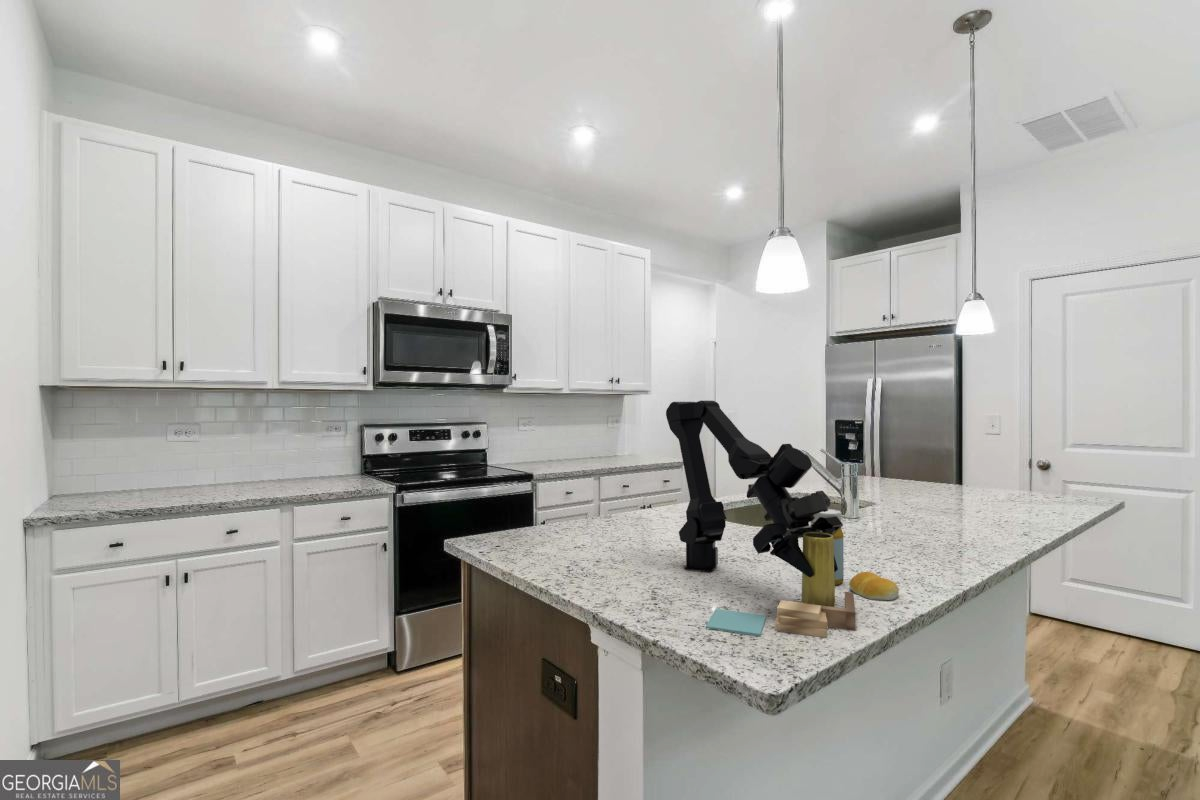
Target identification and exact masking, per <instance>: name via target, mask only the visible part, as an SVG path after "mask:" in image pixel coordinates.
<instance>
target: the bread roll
mask: <svg viewBox="0 0 1200 800" xmlns="http://www.w3.org/2000/svg"><path fill="white" fill-rule="evenodd" d="M849 588H850V590H851V592H853V594H854V593H855V594H857V595H859V596H862V597H864V598H866V599H869V600H874V601H875V600H877V601H893V600H895V599H897V598H898V597H899V593H900V592H899V591H900V590H899V587H898V585H897V584H896V582H894V581H893V580H890V579H888V578H885V577H882V576H880V575H878V574H877V573H874V572H871V571H864V572H863V571H862V572H858V573H857V574H855V575H853V576H852V577H851V579H850V580H849Z"/></svg>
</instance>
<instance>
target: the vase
mask: <svg viewBox="0 0 1200 800" xmlns="http://www.w3.org/2000/svg"><path fill="white" fill-rule="evenodd" d="M802 552H803V554H804V556H805V557H806V559H807V561H808V563H809V564H810V566H811V568H812V570H813V572H814V575H813V576H812V577H808V576H807V575H805V574H804V573H802V572H801V602H800V603H806V604H813V605H822V606H830V607H836V585H835V577H834V540H833V535H831V534H828V533H822V532H805V533H803V537H802Z"/></svg>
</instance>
